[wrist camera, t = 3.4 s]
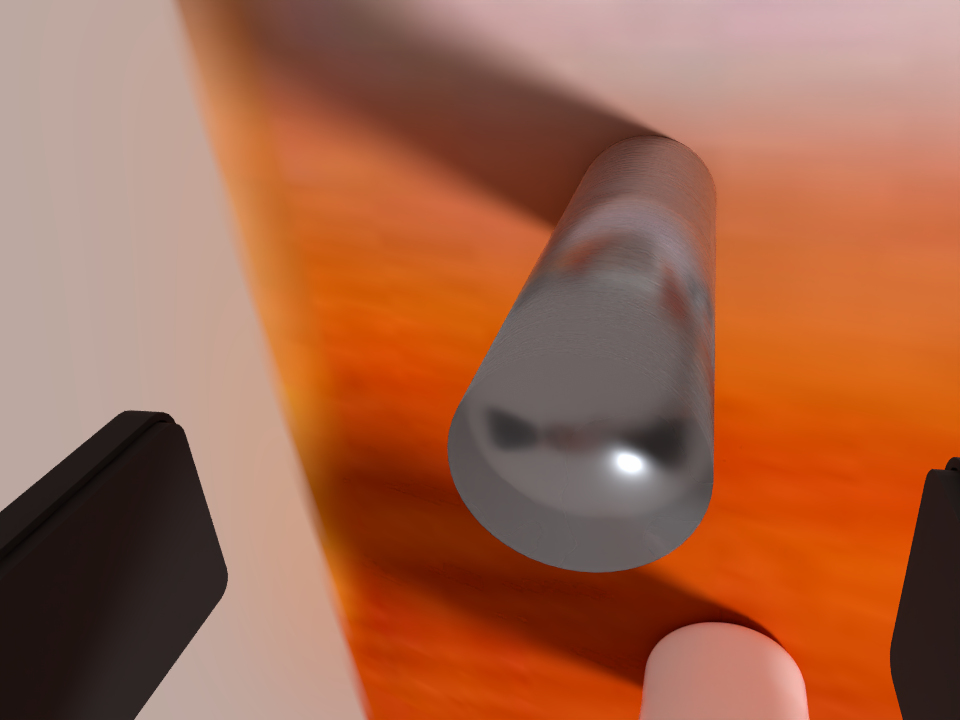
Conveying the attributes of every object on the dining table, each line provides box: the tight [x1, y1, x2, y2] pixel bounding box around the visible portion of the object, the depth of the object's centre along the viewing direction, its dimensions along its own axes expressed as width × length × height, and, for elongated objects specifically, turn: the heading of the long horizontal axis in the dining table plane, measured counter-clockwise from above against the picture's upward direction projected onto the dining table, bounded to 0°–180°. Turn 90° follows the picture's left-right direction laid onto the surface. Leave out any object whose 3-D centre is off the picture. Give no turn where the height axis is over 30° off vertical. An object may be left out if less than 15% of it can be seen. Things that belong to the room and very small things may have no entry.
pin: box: [447, 135, 716, 572], centre depth 16 cm, size 4×4×12 cm
